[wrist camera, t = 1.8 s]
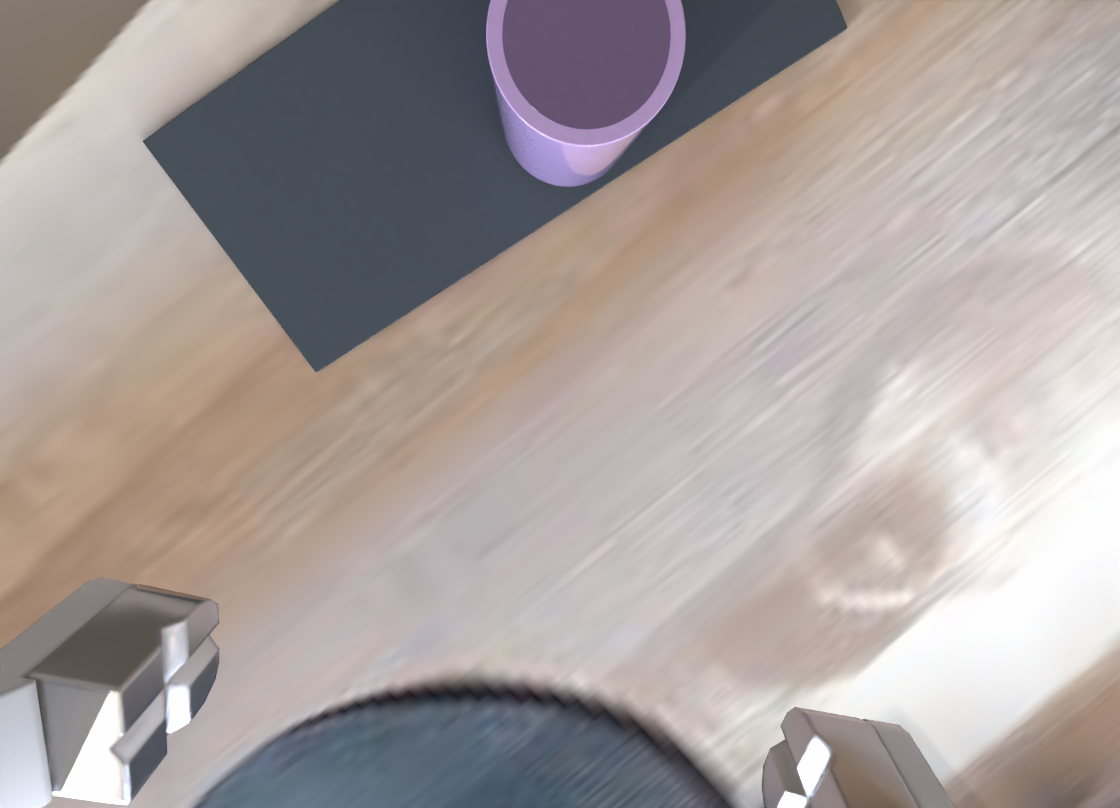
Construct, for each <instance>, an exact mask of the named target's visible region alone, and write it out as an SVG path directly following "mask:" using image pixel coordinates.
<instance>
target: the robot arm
mask: <svg viewBox="0 0 1120 808" xmlns="http://www.w3.org/2000/svg"><path fill="white" fill-rule="evenodd" d="M218 624H219V611H218V603H216V602H215V601H213V600H211V599H207V598H203V597H198V596H193V595H189V594H184V593H179V592H174V591H170V590H165V589H160V588H156V587H151V586H146V585H141V584H139V585H137V584H133V583H128V582H123V581H119V580H114V579H109V578H105V577H101V578H98V579H95V580H91V581H88V582H87V583H85V584H84V585H83V586H81V587H80V588H79V589H77V590H76V591H75V592H74V593H72V594H71V595H70V596H68V597H67V598H66V599H65V600H63V601H62V602H61V603H59V604H58V605H57V606H55V607H54V608H53V609H52V610H50V611H49V612H48V613H46V614H45V615H44V616H43V617H41V618H40V619H39V620H37V621H36V622H35V623H34V624H32V625H31V626H30V627H28V628H27V629H26V630H24V631H23V632H22V633H21V634H19V635H18V636H17V637H15V638H14V639H13V640H12V641H10V642H9V643H8V644H6V645H5V646H4V647H2V648H1V649H0V808H42V807H44V806H45V805H47V804H48V803H50V802H51V801H52V800H53V799H54V798H53V795H55V796H63V797H70V798H77V799H84V800H92V801H99V802H106V803H114V804H121V805H129V804H130V803H131V801H132V800H133V798H134V797H135V796H136V794H137V793H138V792H139V790H140V789H141V788H142V786H143V785H144V784H145V782H146V781H147V780H148V778H149V777H150V776H151V774H152V773H153V772H154V770H155V769H156V768H157V766H158V765H159V764H160V762H161V761H162V760H163V758H164V757H165V756H166V754H167V735H169V734H170V733H172V732H174V731H176V730H177V729H179V728H181V727H183V726H185V725H186V724H188V723H190V722H191V721H192V719H193V718H194V716H195V715H196V714H197V712H198V711H199V709H200V708H201V707H202V705H203V704H204V702H205V700H206V698H207V696H208V694H209V692H210V690H211V687H212V685H213V683H214V681H215V678H216V674H217V669H218V665H219V647H218V646H217V645H216V643H215V642H214V641H213V639H212V638H211V637H210V635H209V634H210V633H211V632H212V631H213V630H214V628H215V627H216V626H217V625H218ZM781 728H782V731H783V734H784V736H785V740H783V741H782V742H780V743H779V744H777V745H775V746H774V747H772V748H770V750H769V753H768V755H767V758H766V760H765V763H764V765H763V776H762V793H763V801H764V806H765V808H955V806H954V805H953V803H952V801H951V800H950V798H949V797H948V795H947V793H946V792H945V790H944V789H943V787H942V785H941V784H940V782H939V781H938V779H937V777H936V776H935V774H934V773H933V771H932V769H931V768H930V766H929V764H928V763H927V761H926V760H925V758H924V756H923V755H922V753H921V752H920V750H919V748H918V747H917V745H916V744H915V742H914V740H913V739H912V737H911V736H910V734H909V733H908V732H907V731H906V730H904V729H903V728H902V727H901V726H900V725H896V724H890V723H885V722H879V721H873V720H867V719H862V720H861V719H859V718H855V717H849V716H843V715H838V714H832V713H826V712H820V711H815V710H809V709H803V708H798V707H794V708H793V709H791V710H790V711H789V712H788V713H787V714H786V716H785V718H784V720H783V722H782V724H781Z"/></svg>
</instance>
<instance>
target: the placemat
mask: <svg viewBox="0 0 1120 808" xmlns="http://www.w3.org/2000/svg"><path fill="white" fill-rule="evenodd" d="M681 2H682V6H683V11H684V17H685V26H686V43H685V53H684V59H683V64H682V68H681V71H680V74H679V77H678V80H677V82H676V85H675V87H674V89H673V91H672V93H671V95H670V96H669V98H668V100H667V101H666V103H665V105H664V106H663V107H662V108H661V110H660V111H659V112H658V113H657V115H656V116H655V117H654V118H653V120H652V121H651V122H650V123H649V124H648V126H647V127H646V128H645V129H644V130H643V132H642V133H641V134H640V135H639V136H638V138H637V139H636V140H635V141H634V142H633V144H632V145H631V146H630V147H629V148H628V150H627V151H626V152H625V153H624V155H623V156H622V157H621V158H620V159H619V161H618V162H617V163H616V164H615V165H614V166H613V167H612V168H611V169H610V170H609V171H608V172H607V173H606V174H604V175H603V176H602V177H600V178H598V179H596V180H595V181H592V182H590V183H587V184H584V185H580V186H572V187H564V186H556V185H552V184H549V183H546V182H543V181H541V180H539V179H537V178H536V177H534V176H533V175H531V174H530V173H529V172H527V171H526V170H525V169H524V168H523V167H522V166H521V165H520V164H519V162H518V161H517V160H516V159H515V157H514V156H513V154H512V152H511V150H510V148H509V146H508V144H507V141H506V139H505V136H504V131H503V127H502V122H501V117H500V113H499V108H498V103H497V98H496V93H495V88H494V83H493V78H492V73H491V68H490V64H489V59H488V53H487V44H486V23H487V15H488V9H489V4H490V0H340V1H339V2H338V3H336V4H335V5H333V6H332V7H331V8H329V9H328V10H326V11H325V12H324V13H322V14H321V15H319V16H318V17H317V18H315V19H314V20H312V21H311V22H309V23H308V24H307V25H305V26H304V27H302V28H301V29H300V30H298V31H297V32H295V33H294V34H293V35H291V36H290V37H288V38H287V39H286V40H284V41H283V42H281V43H280V44H279V45H277V46H276V47H274V48H273V49H272V50H270V51H269V52H267V53H266V54H265V55H263V56H262V57H260V58H259V59H258V60H256V61H255V62H253V63H252V64H251V65H249V66H248V67H246V68H245V69H244V70H242V71H241V72H239V73H238V74H237V75H235V76H234V77H232V78H231V79H229V80H228V81H227V82H225V83H224V84H222V85H221V86H220V87H218V88H217V89H215V90H214V91H213V92H211V93H210V94H208V95H207V96H206V97H204V98H203V99H201V100H200V101H199V102H197V103H196V104H194V105H193V106H192V107H190V108H189V109H187V110H186V111H185V112H183V113H182V114H180V115H179V116H178V117H176V118H175V119H173V120H172V121H171V122H169V123H168V124H166V125H165V126H164V127H162V128H161V129H159V130H158V131H156V132H155V133H154V134H152V135H151V136H149V137H148V138H147V139H145V140H144V141H143V142H144V144H145V145H146V146H147V148H148V149H149V150H150V152H151V153H152V154H153V156H154V157H155V158H156V160H157V161H158V162H159V164H160V165H161V166H162V168H163V169H164V170H165V172H166V173H167V174H168V176H169V177H170V179H171V180H172V181H173V183H174V184H175V185H176V187H177V188H178V189H179V191H180V192H181V193H182V195H183V196H184V197H185V199H186V200H187V201H188V203H189V204H190V205H191V207H192V208H193V209H194V211H195V212H196V213H197V215H198V216H199V217H200V219H201V220H202V221H203V223H204V224H205V225H206V227H207V228H208V229H209V231H210V232H211V233H212V235H213V236H214V237H215V239H216V240H217V241H218V243H219V244H220V245H221V247H222V248H223V249H224V251H225V252H226V253H227V255H228V256H229V257H230V259H231V260H232V261H233V263H234V264H235V265H236V267H237V268H238V269H239V271H240V272H241V273H242V275H243V276H244V277H245V279H246V280H247V281H248V283H249V284H250V285H251V287H252V288H253V289H254V291H255V292H256V293H257V295H258V296H259V297H260V299H261V300H262V301H263V303H264V304H265V305H266V307H267V308H268V309H269V311H270V312H271V313H272V315H273V316H274V317H275V319H276V320H277V321H278V323H279V324H280V325H281V327H282V328H283V329H284V331H285V332H286V333H287V335H288V336H289V337H290V339H291V340H292V341H293V343H294V344H295V345H296V347H297V348H298V349H299V351H300V352H301V353H302V355H303V356H304V357H305V359H306V360H307V361H308V363H309V364H310V365H311V367H312V368H313V369H314V371H315V372H318V371H320V370H321V369H323V368H324V367H326V366H327V365H329V364H330V363H332V362H334V361H335V360H337V359H338V358H340V357H341V356H343V355H344V354H346V353H347V352H349V351H351V350H352V349H354V348H355V347H357V346H358V345H360V344H361V343H363V342H364V341H366V340H367V339H369V338H371V337H372V336H374V335H375V334H377V333H378V332H380V331H381V330H383V329H384V328H386V327H388V326H389V325H391V324H392V323H394V322H395V321H397V320H398V319H400V318H401V317H403V316H405V315H406V314H408V313H409V312H411V311H412V310H414V309H415V308H417V307H418V306H420V305H421V304H423V303H425V302H426V301H428V300H429V299H431V298H432V297H434V296H435V295H437V294H438V293H440V292H442V291H443V290H445V289H446V288H448V287H449V286H451V285H452V284H454V283H455V282H457V281H459V280H460V279H462V278H463V277H465V276H466V275H468V274H469V273H471V272H472V271H474V270H475V269H477V268H479V267H480V266H482V265H483V264H485V263H486V262H488V261H489V260H491V259H492V258H494V257H496V256H497V255H499V254H500V253H502V252H503V251H505V250H506V249H508V248H509V247H511V246H513V245H514V244H516V243H517V242H519V241H520V240H522V239H523V238H525V237H526V236H528V235H529V234H531V233H533V232H534V231H536V230H537V229H539V228H540V227H542V226H543V225H545V224H546V223H548V222H550V221H551V220H553V219H554V218H556V217H557V216H559V215H560V214H562V213H563V212H565V211H567V210H568V209H570V208H571V207H573V206H574V205H576V204H577V203H579V202H580V201H582V200H583V199H585V198H587V197H588V196H590V195H591V194H593V193H594V192H596V191H597V190H599V189H600V188H602V187H604V186H605V185H607V184H608V183H610V182H611V181H613V180H614V179H616V178H617V177H619V176H621V175H622V174H624V173H625V172H627V171H628V170H630V169H631V168H633V167H634V166H636V165H637V164H639V163H641V162H642V161H644V160H645V159H647V158H648V157H650V156H651V155H653V154H654V153H656V152H658V151H659V150H661V149H662V148H664V147H665V146H667V145H668V144H670V143H671V142H673V141H675V140H676V139H678V138H679V137H681V136H682V135H684V134H685V133H687V132H688V131H690V130H691V129H693V128H695V127H696V126H698V125H699V124H701V123H702V122H704V121H705V120H707V119H708V118H710V117H712V116H713V115H715V114H716V113H718V112H719V111H721V110H722V109H724V108H725V107H727V106H729V105H730V104H732V103H733V102H735V101H736V100H738V99H739V98H741V97H742V96H744V95H745V94H747V93H749V92H750V91H752V90H753V89H755V88H756V87H758V86H759V85H761V84H762V83H764V82H766V81H767V80H769V79H770V78H772V77H773V76H775V75H776V74H778V73H779V72H781V71H783V70H784V69H786V68H787V67H789V66H790V65H792V64H793V63H795V62H796V61H798V60H799V59H801V58H803V57H804V56H806V55H807V54H809V53H810V52H812V51H813V50H815V49H816V48H818V47H820V46H821V45H823V44H824V43H826V42H827V41H829V40H830V39H832V38H833V37H835V36H837V35H838V34H840V33H841V32H843V31H844V30H846V29H847V26H846V23H845V21H844V18H843V16H842V14H841V11H840V9H839V7H838V4H837V2H836V0H681Z"/></svg>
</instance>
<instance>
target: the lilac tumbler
mask: <svg viewBox="0 0 1120 808" xmlns="http://www.w3.org/2000/svg"><path fill="white" fill-rule="evenodd" d="M685 43H686V26H685V17H684V11H683V6H682V2H681V0H490V4H489V9H488V15H487V23H486V44H487V53H488V59H489V64H490V68H491V73H492V78H493V83H494V88H495V93H496V98H497V103H498V108H499V113H500V117H501V122H502V127H503V131H504V136H505V139H506V141H507V144H508V146H509V148H510V150H511V152H512V154H513V156H514V157H515V159H516V160H517V161H518V162H519V164H520V165H521V166H522V167H523V168H524V169H525V170H526V171H527V172H529V173H530V174H531V175H533V176H534V177H536V178H537V179H539V180H541V181H543V182H546V183H549V184H552V185H556V186H564V187H572V186H580V185H584V184H587V183H590V182H592V181H595V180H596V179H598V178H600V177H602V176H603V175H604V174H606V173H607V172H608V171H609V170H610V169H611V168H612V167H613V166H614V165H615V164H616V163H617V162H618V161H619V159H620V158H621V157H622V156H623V155H624V153H625V152H626V151H627V150H628V148H629V147H630V146H631V145H632V144H633V142H634V141H635V140H636V139H637V138H638V136H639V135H640V134H641V133H642V132H643V130H644V129H645V128H646V127H647V126H648V124H649V123H650V122H651V121H652V120H653V118H654V117H655V116H656V115H657V113H658V112H659V111H660V110H661V108H662V107H663V106H664V105H665V103H666V101H667V100H668V98H669V96H670V95H671V93H672V91H673V89H674V87H675V85H676V82H677V80H678V77H679V74H680V71H681V68H682V64H683V59H684V53H685Z"/></svg>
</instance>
